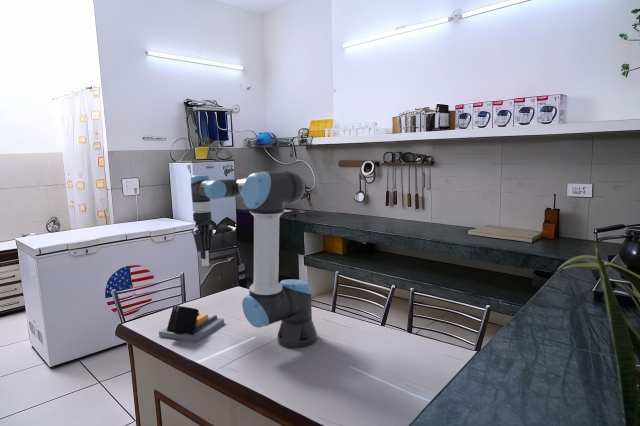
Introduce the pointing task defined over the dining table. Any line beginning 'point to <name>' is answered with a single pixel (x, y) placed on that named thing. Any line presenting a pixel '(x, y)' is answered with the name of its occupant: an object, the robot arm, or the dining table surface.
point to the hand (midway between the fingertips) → (205, 265)
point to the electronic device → (182, 320)
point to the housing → (195, 330)
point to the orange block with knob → (201, 319)
